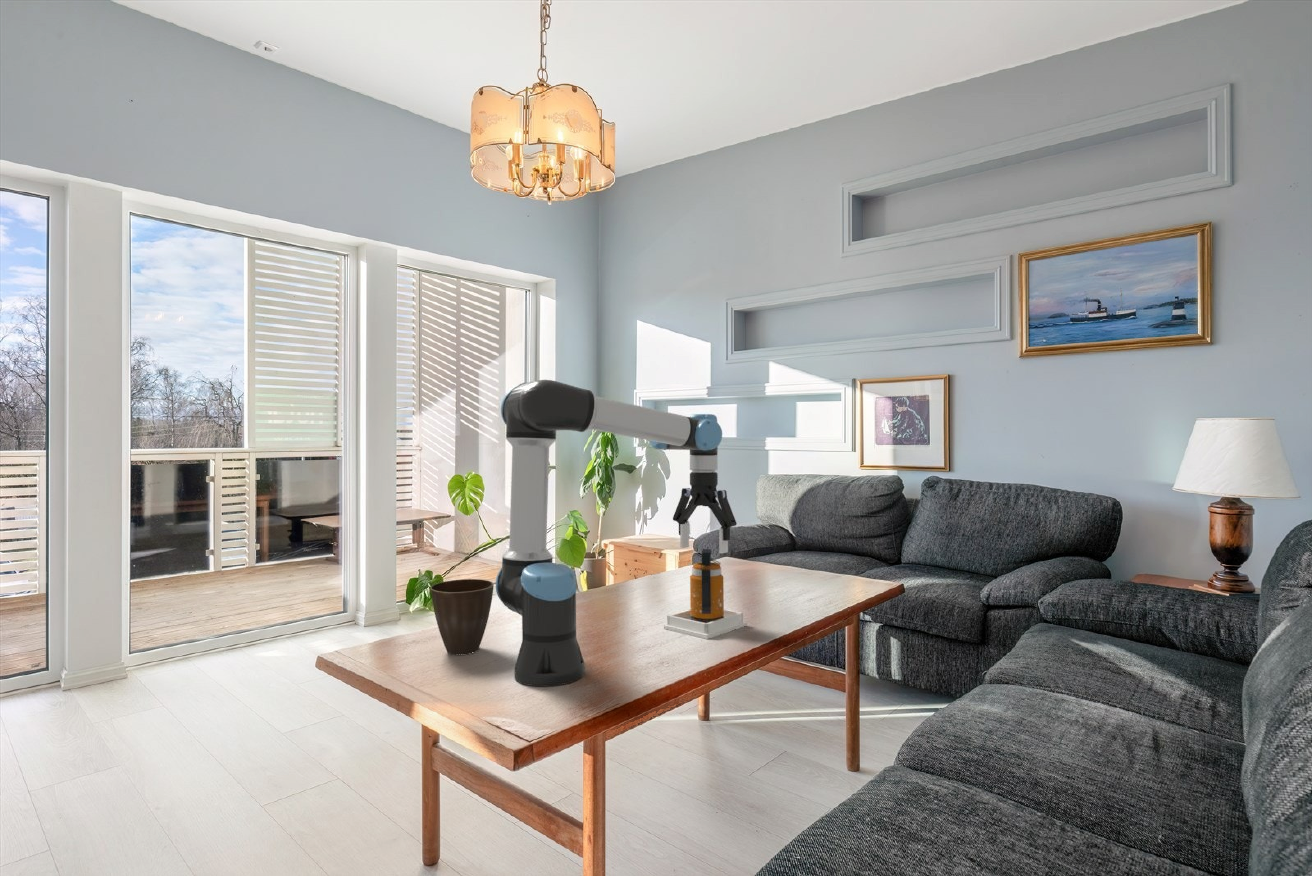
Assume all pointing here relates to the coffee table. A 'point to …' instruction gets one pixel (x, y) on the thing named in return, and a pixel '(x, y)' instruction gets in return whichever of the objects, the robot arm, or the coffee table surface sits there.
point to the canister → (706, 590)
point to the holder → (704, 624)
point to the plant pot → (462, 612)
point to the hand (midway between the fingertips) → (703, 550)
